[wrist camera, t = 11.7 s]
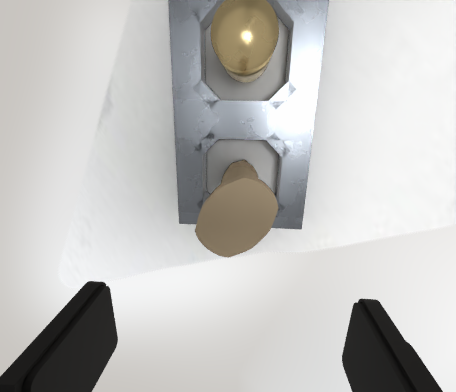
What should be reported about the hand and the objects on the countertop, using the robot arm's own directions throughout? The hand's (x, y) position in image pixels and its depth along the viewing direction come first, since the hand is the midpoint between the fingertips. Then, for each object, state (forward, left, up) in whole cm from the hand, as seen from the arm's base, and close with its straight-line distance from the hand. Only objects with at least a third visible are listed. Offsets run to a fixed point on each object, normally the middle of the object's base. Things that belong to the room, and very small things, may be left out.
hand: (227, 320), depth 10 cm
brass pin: (-13, 0, -24) cm, 27 cm away
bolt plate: (-6, 0, -24) cm, 25 cm away
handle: (0, 0, -24) cm, 24 cm away
